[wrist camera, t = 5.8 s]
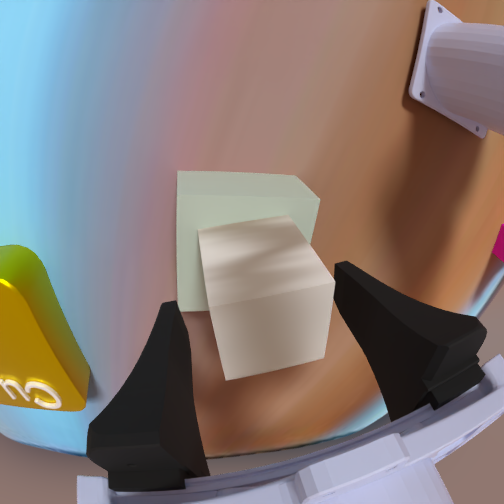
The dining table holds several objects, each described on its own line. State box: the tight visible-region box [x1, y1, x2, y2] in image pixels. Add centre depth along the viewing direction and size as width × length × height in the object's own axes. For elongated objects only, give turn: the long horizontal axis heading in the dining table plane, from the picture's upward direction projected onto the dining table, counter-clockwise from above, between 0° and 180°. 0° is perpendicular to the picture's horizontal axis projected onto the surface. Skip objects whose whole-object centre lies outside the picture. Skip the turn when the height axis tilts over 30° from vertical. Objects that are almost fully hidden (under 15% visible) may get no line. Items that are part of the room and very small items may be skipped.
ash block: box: [198, 215, 335, 380], centre depth 14 cm, size 4×4×6 cm
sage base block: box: [176, 171, 320, 312], centre depth 18 cm, size 7×7×4 cm
